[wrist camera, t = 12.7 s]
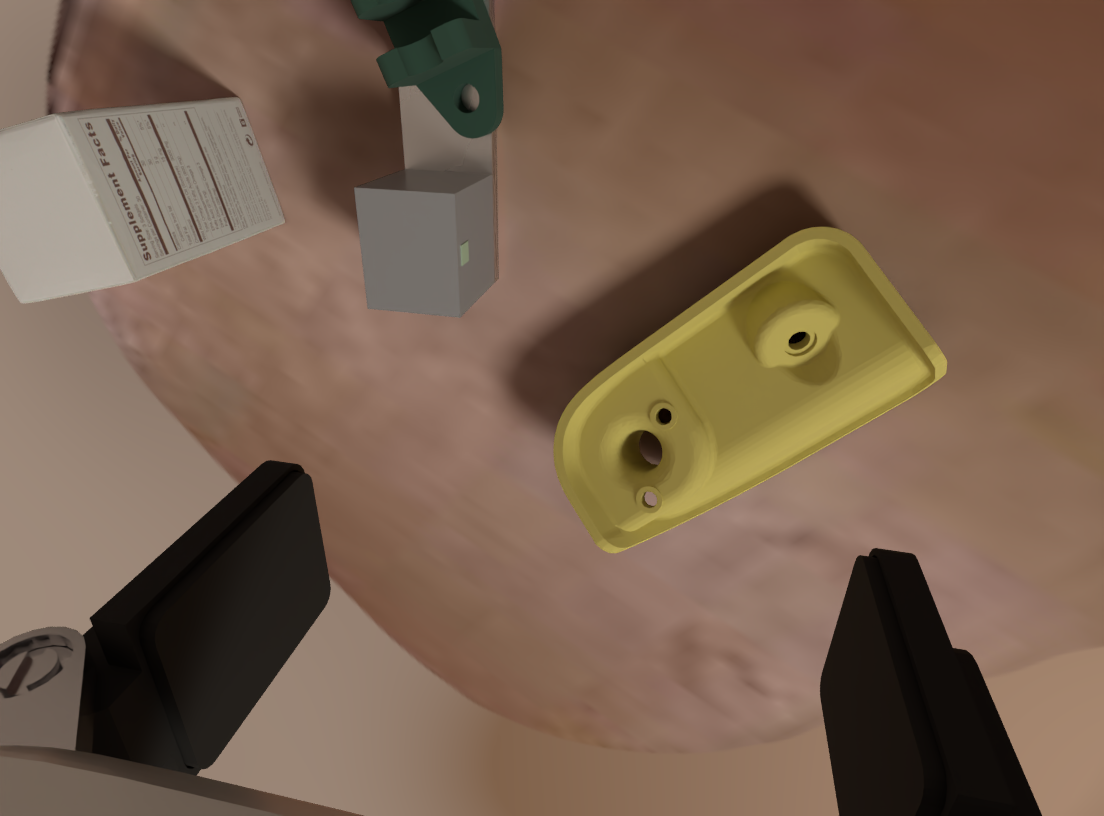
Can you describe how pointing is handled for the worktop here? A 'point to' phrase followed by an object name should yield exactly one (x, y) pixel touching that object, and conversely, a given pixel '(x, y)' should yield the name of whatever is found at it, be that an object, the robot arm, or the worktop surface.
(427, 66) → the mount
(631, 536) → the plastic component
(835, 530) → the worktop surface
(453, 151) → the rail
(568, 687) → the worktop surface
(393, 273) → the block
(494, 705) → the worktop surface
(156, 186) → the supplement box
